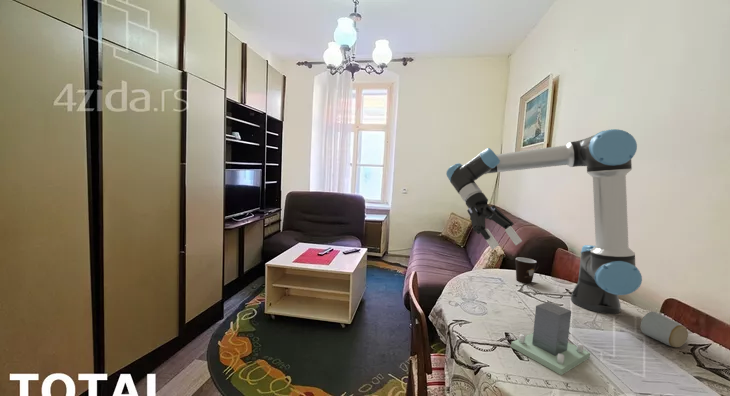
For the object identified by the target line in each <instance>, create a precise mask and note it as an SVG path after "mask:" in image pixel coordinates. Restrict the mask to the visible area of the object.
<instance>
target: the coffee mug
mask: <svg viewBox="0 0 730 396" xmlns="http://www.w3.org/2000/svg"><path fill="white" fill-rule="evenodd" d="M536 266H537V268H536ZM539 269H540V263H539V262H537V260H534V259H532V258H528V257H516V258H515V279H516V281H517V282H518V283H521V284H527V285H528V284H529V285H530V284H532V283H533V279H534V275H535V273H536V272H537V271H538V270H539Z"/></svg>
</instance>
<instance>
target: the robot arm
mask: <svg viewBox="0 0 730 396" xmlns="http://www.w3.org/2000/svg"><path fill="white" fill-rule="evenodd" d="M637 149H638V144H637V140H636V139H635V137H634V136H633V135H632V134H631V133H629V132H627V131H625V130H623V129H619V128H618V129H607V130H606V129H605V130H602V131H599V132H598V133H596V134H594V135H591V136H589V137H586V138H584V139H580V140H574V141H569V142H568V143H566V144H565V145H559V146H551V147H544V148H534V149H528V150H522V151H513V152H504V153H498V154H496V153H495V152H494V151H493V149H492V148H488V147H487V148H485V149H484V150H481V152H479V153H478V154H477V155H475V156H474V157H473V158H472V159H470V160H469V161H467V162H466V163H464V164H462V163H459V162H458V163H455V164H452V165H451V166H449V168H448V169H447V170H446V177H447V178H448V180H449V182H450V183H451V185H452V186H453V188H454V189H455V191H456V192H457V193H458V195H459V196H460V197H461V199H462V201H463V202H464V203H465V206H466V207H467V208H468V209H467V210H466V211H467V213H468V214H469V217H470V218H469V219H470V222H471V225H472V229H473V231H474V232H475V233H476V234H478V235H480V234H481V236H482V237H483V239H484V240H485V241H486V242H487V244H488V245H489V247H490V248H491V250H494V249H496V248H497V247H498V246H499V245H500V244H499V242H498V241H497V240H496V239H495V236H494V235H493V233H492V232H491V231H490V230H489V228H486V219H488V220H489V221H493V222H495V223H496V224H497V225H499V226H500V227H502V228H503V229H505V230H504V232H505V233H506V234H507V236H508V237H509V239H510V240H511V241H512V242H513V244H514V245H515V246H518V245H520V243H522V242H523V240H522V238H521V237H520V235H519V234H518V233H517V232H516V231H515V229H514V228H513V227H512V226H514V222H513V221H512V220H511V219H509V218H508V217H507V216H506V215H505V214H503V212H502V211H500V210H499V209H498V208H497V207H496V205H494V204H493V205H492V206H490V205H489V204H488V202H489V199H488V198H487V196H486V195H485V194H484V192H483V190H482V189H481V188H480V187H479V185H478V184H477V182H475V181H476V180H478V179H480V177H482V176H484V175H488V174H495V173H503V172H513V171H514V172H515V171H521V170H522V171H523V170H530V169H541V168H550V167H559V166H560V167H561V166H568V167H570V168H573V167H586V173H587V174H588V175H589V176H590V177H592V188H593V190H592V192H593V213H594V235H595V236H594V237H595V245H592V244H584V245H583V246H582V247H581V251H580V261H579V272H578V280H577V283H576V285H575V287H574V289H573V291H572V292H571V295H570V300H571V302H572V303H574V304H575V305H577V306H579V307H582V308H583V309H587V310H590V311H592V312H593V311H594V312H597V313H602V314H608V315H609V314H610V315H611V314H613V315H615V314H619V313H620V312H621V308H622V307H621V306H622V305H621V302H620V298H619V296H626V295H630V294H632V293H634V292H636V291H637V290H639V288H640V287H641V285H642V282H643V276H642V273H641V272H640V269H639V268H638V267H637V266H636V253H635V252H634V251H633V250H632V249H631V248H629V230H628V229H629V225H628V222H629V221H628V200H627V199H628V197H627V174H629V172H631V171H632V169H633V166H632V159H633V158H634V157H635V155H636V153H637Z"/></svg>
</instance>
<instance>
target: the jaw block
mask: <svg viewBox="0 0 730 396" xmlns="http://www.w3.org/2000/svg"><path fill="white" fill-rule="evenodd" d="M571 316H572V310H570V309H568V308H565V307H563V306H560V305H557V304H555V303H552V302H549V301H546V302H544V303H540V304H537V305H535V314H534V324H533V332H532V333H533V342H532V344H533V345H535V346H537V347H539V348H541V349H542V350H544V351H546V352H548V353H550V354H552V355H554V356H556V355H558V353H562V352H564V351H566V350H567V346H568V342H569V337H570V327H571Z"/></svg>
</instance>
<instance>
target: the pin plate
mask: <svg viewBox="0 0 730 396" xmlns="http://www.w3.org/2000/svg"><path fill="white" fill-rule="evenodd" d="M532 342H533V332H532V333H529V334H527V335H524V334H523V333H522V334H519V337H518V338H517V339H515V340H513V341H511V342H510V343H511V344H510V348H512V349H514V350H515V351H517V352H519V353H521V354H523V355H525V357H526V356H527V357H528V358H530V359H531V360H533V361H535V362H537V363H538V364H541V365H542V366H544V367H546V368H547V369H549V370H551V371H553V372H555V373H557V374H558V375H560V376H562V375H564V374H565V373H567V372H568V371H570V370H571V369H574V368H575V367H577V366H579V365H580V364H582V363H584V362H585V361H587V360H588V359H590V358H591V352H590V351H589V350H586V349H584V348H585V346H584V344H582V343H580V342H579V343H578V342H577V344H576V345H575V344H574V343H571V342H569V341H568V346H567V350H566V351H564V352H562V353H558V355H556V356H554V355H552V354H550V353H548V352H546V351H544V350H542V349H541V348H539V347H537V346H535V345H533V344H532Z"/></svg>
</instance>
